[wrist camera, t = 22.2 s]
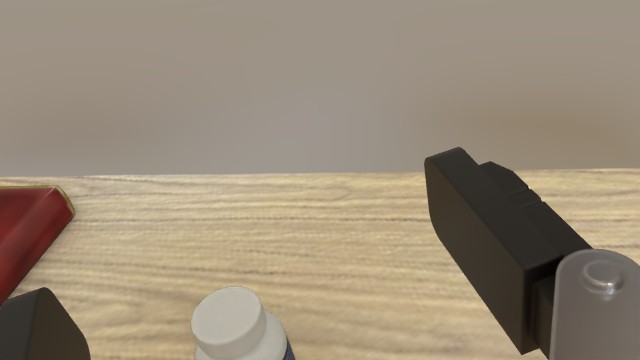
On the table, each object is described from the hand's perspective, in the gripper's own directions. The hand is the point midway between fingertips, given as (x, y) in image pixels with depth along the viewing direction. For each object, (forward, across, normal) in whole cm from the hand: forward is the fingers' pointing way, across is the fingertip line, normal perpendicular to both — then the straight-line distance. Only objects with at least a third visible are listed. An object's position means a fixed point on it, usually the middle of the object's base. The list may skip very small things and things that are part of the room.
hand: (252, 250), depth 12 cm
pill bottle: (+13, +3, +25) cm, 28 cm away
